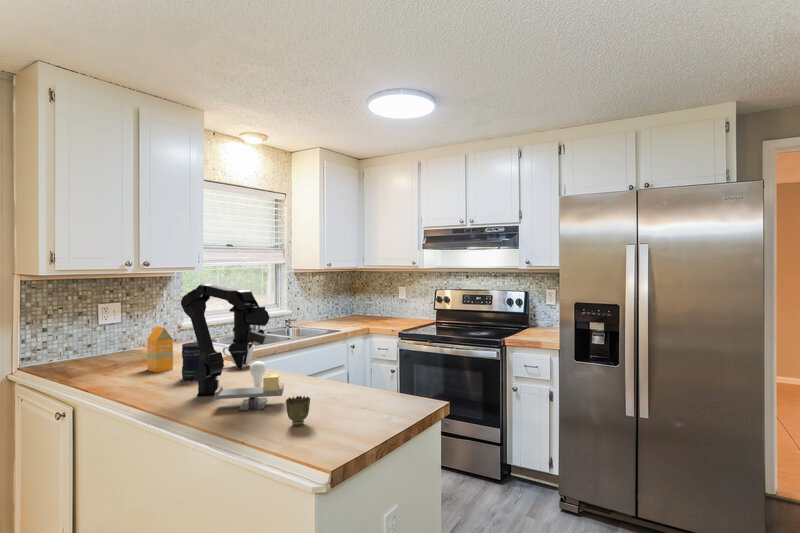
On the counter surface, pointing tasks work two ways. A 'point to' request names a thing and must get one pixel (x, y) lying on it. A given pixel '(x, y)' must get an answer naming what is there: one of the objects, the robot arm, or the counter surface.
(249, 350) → the teacup
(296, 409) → the cup
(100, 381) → the counter surface
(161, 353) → the orange juice
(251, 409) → the pivot stand
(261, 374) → the lightbulb
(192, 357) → the dark blue cylinder
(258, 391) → the beam
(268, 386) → the golden cube
